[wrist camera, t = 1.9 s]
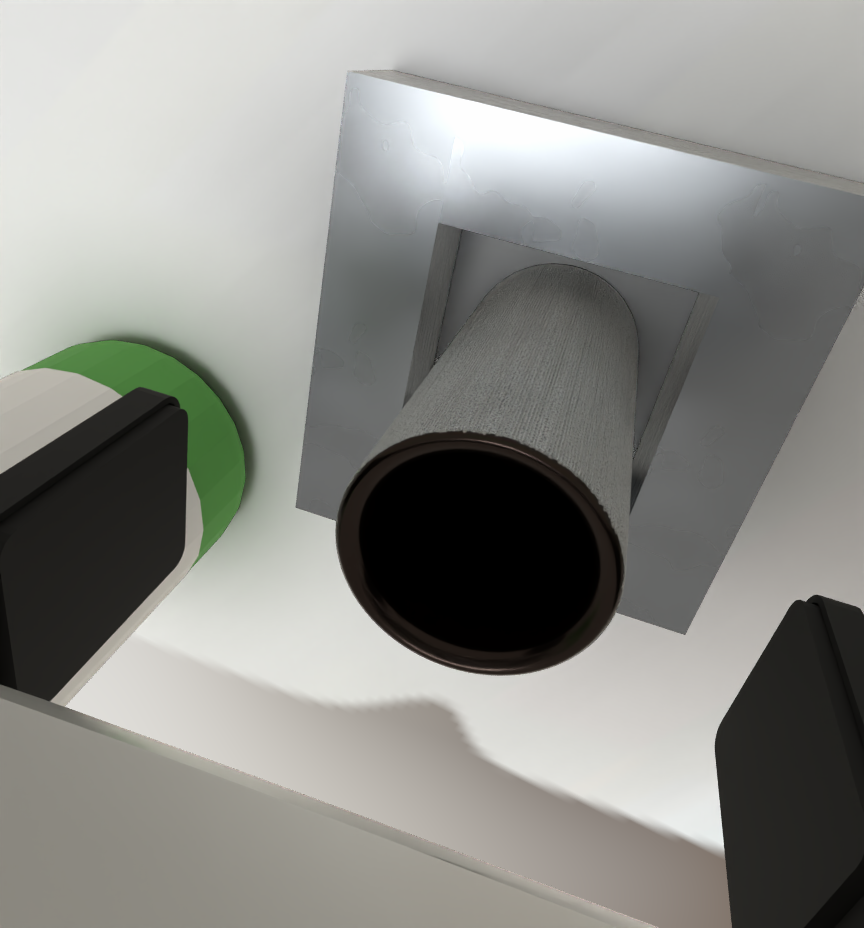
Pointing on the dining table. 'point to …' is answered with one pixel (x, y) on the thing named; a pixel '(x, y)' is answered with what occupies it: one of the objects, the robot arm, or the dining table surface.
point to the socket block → (597, 242)
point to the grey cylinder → (504, 483)
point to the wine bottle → (92, 389)
